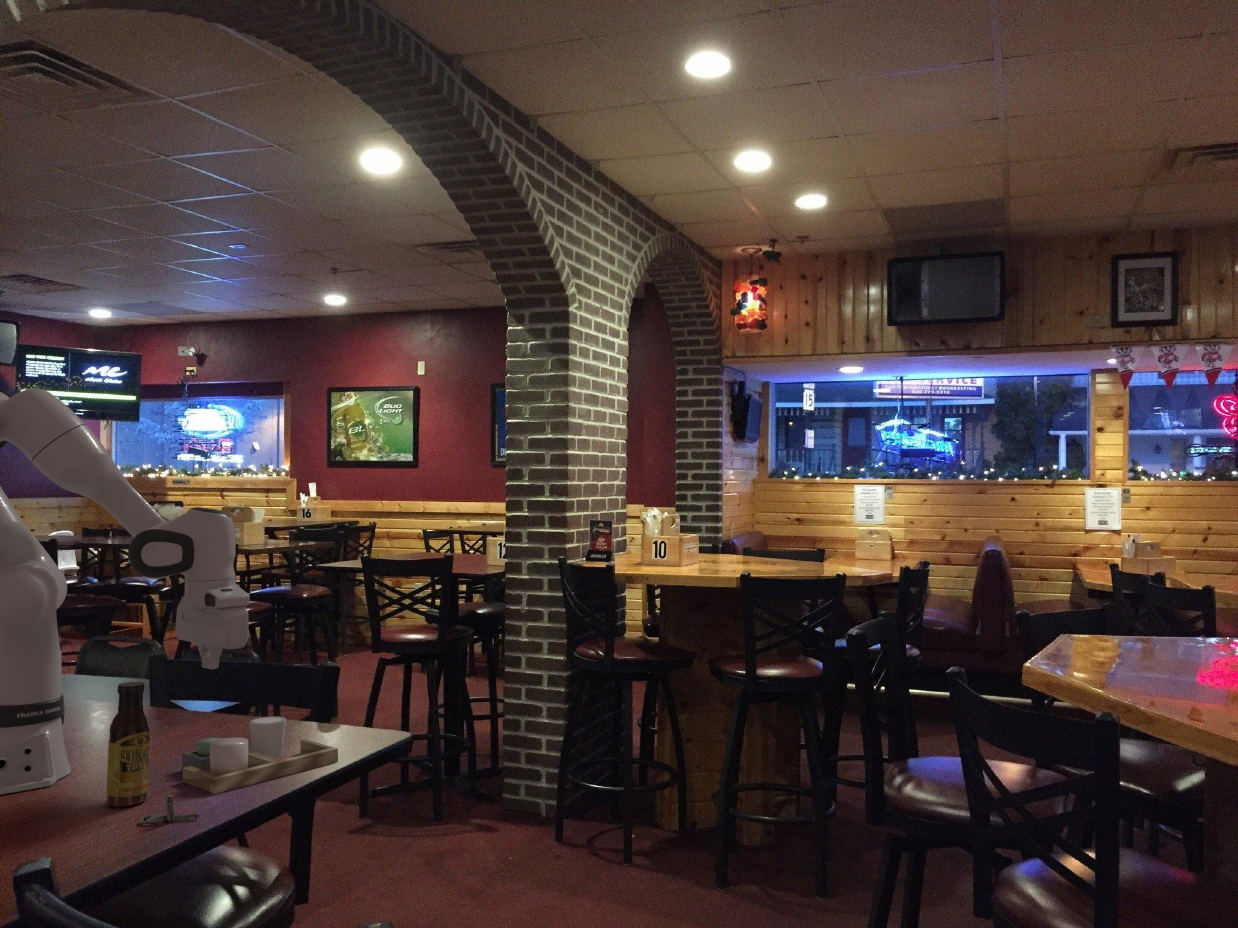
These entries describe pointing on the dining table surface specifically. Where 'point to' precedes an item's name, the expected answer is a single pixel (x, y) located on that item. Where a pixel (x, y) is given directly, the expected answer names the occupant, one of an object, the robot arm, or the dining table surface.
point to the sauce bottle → (128, 749)
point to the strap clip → (170, 815)
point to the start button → (204, 746)
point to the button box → (195, 761)
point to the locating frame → (262, 768)
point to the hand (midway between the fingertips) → (210, 668)
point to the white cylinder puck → (228, 755)
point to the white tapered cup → (268, 735)
